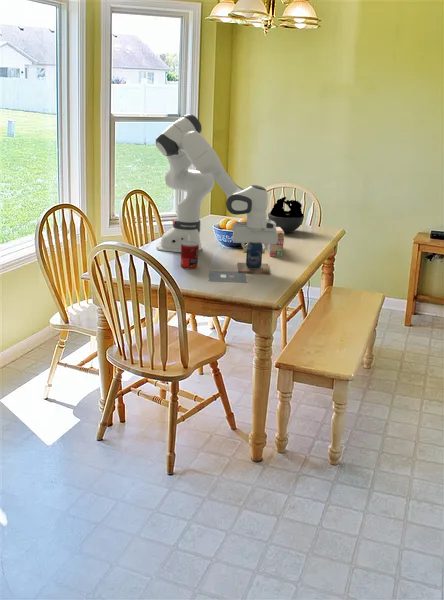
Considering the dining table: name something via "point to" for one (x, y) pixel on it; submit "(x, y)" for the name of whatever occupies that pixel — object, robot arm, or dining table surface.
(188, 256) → the canned food
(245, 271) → the walnut coaster
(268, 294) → the dining table surface
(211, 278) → the blue gray card
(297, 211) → the coal bowl
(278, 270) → the dining table surface
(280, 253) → the stack of blocks
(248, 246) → the soda can
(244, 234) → the robot arm
